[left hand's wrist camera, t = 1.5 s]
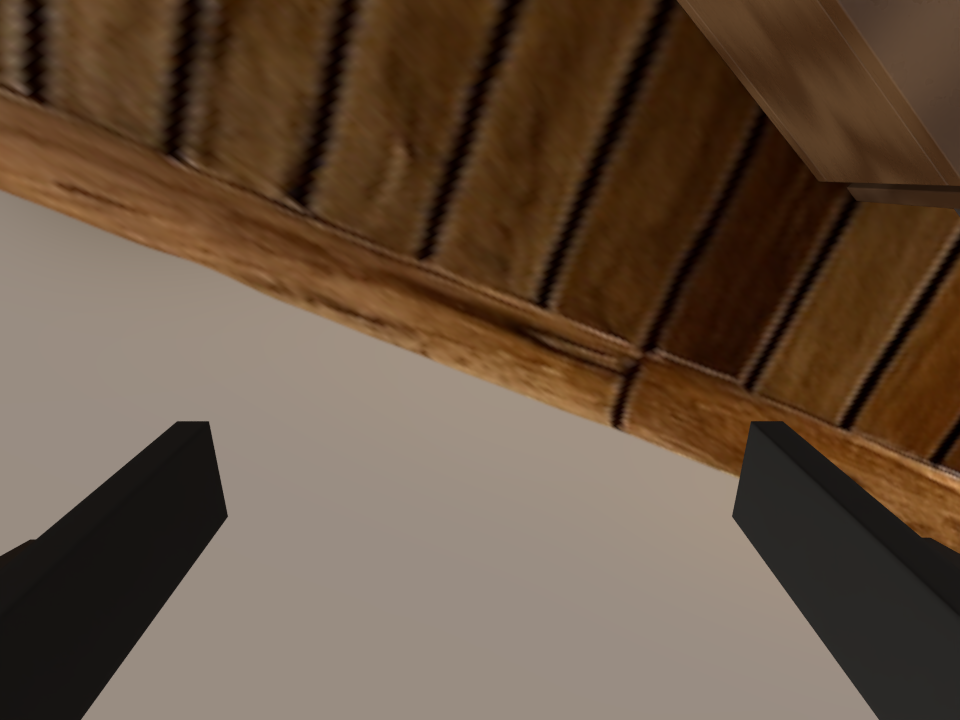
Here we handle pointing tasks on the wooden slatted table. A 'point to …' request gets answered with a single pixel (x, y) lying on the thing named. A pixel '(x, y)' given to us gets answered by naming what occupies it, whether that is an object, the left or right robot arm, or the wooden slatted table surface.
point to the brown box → (850, 81)
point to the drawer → (908, 194)
